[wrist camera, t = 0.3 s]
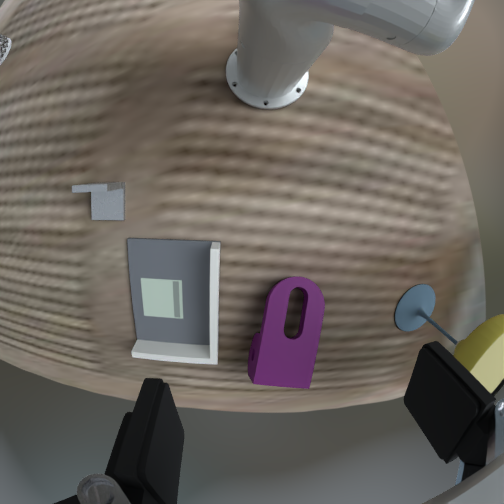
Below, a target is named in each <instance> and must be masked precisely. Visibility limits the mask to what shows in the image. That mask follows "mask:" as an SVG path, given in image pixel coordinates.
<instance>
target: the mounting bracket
mask: <svg viewBox="0 0 504 504" xmlns="http://www.w3.org/2000/svg"><path fill="white" fill-rule="evenodd" d="M294 288H299V289H301V290H302V292H303V294H304V301H303V307H302V313H301V319H300V325H299V330H298V333H297V334H296V335H295V336H294V337H292V338H287V337H286V336H285V334H284V324H285V318H286V313H287V307H288V301H289V295H290V292H291V291H292V289H294ZM324 308H325V303H324V297H323V294H322V292H321V290H320V289H319V287H318V286H317V285H316V284H315V283H314V282H312V281H311V280H309V279H307V278H304V277H290V278H287V279H284V280H281V281H279V282H278V283H277V284H275V285H274V286H273V287H272V289H271V290H270V292H269V294H268V296H267V299H266V304H265V309H264V315H263V320H262V326H261V331H260V333H256V334H255V335H254V337H253V340H252V344H251V347H250V351H249V358H248V375H249V377H250V379H251V381H252V382H253V384H259V385H269V386H279V387H292V388H308V389H309V387H310V383H311V378H312V373H313V369H314V364H315V359H316V354H317V349H318V343H319V338H320V333H321V327H322V321H323V315H324Z"/></svg>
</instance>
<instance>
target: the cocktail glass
mask: <svg viewBox="0 0 504 504" xmlns="http://www.w3.org/2000/svg"><path fill="white" fill-rule="evenodd" d="M434 305H435V293H434V291H433V289H432V288H431V287H430V286H428V285H426V284H419V285H416V286H414V287H412V288H411V289H409V290H408V291H407V292H406V293H405V294H404V295H403V296H402V298H401V299H400V301H399V303H398V305H397V308H396V311H395V322H396V325H397V326H398V328H400V329H401V330H403V331H412V330H415V329H417V328H419V327H420V326H422V325H423V324H424V323H425V322H426V321H429V322H430V323H431V324H432V325H433V326H435V327H436V328H437V329H438V330H439V331H441V332H442V333H443V334H444V335H445V336H446V337H447V338H448V339H450V340H451V341H452V342H453V343H454V344H455V354H454V355H453V356H454V357H455V358H456V359H457V360H458V361H459V362H460V363H461V364H462V365H463V366H464V367H465V368H466V369H467V370H468V371H469V372H470V373H471V374H472V375H473V376H474V377H475V378H476V379H477V380H478V381H479V382H480V383H481V384H482V385H483V386H484V387H485V388H486V389H487V390H488V391H489V392H490V393H491V394H492V395H493V396H495V395H496V394H497V392H498V391H499V390H500V389H501V387H502V386H503V385H504V314H502V315H497V316H495V317H492V318H490V319H489V320H487V321H485V322H484V323H482V324H481V325H479V326H478V327H477V328H476V329H475V330H474V331H473V332H472V333H471V334H470V335H469V336H468V337H467V338H466V339H465V340H461V341H459V342H457V341H456V340H455V339H454V338H452V337H451V336H450V335H449V334H448V333H447V332H446V331H444V330H443V329H442V328H441V327H440V326H439V325H438V324H437V323H435V322H434V321H433V320H432V319H431V318H430V315H431V313H432V311H433V309H434Z"/></svg>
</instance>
